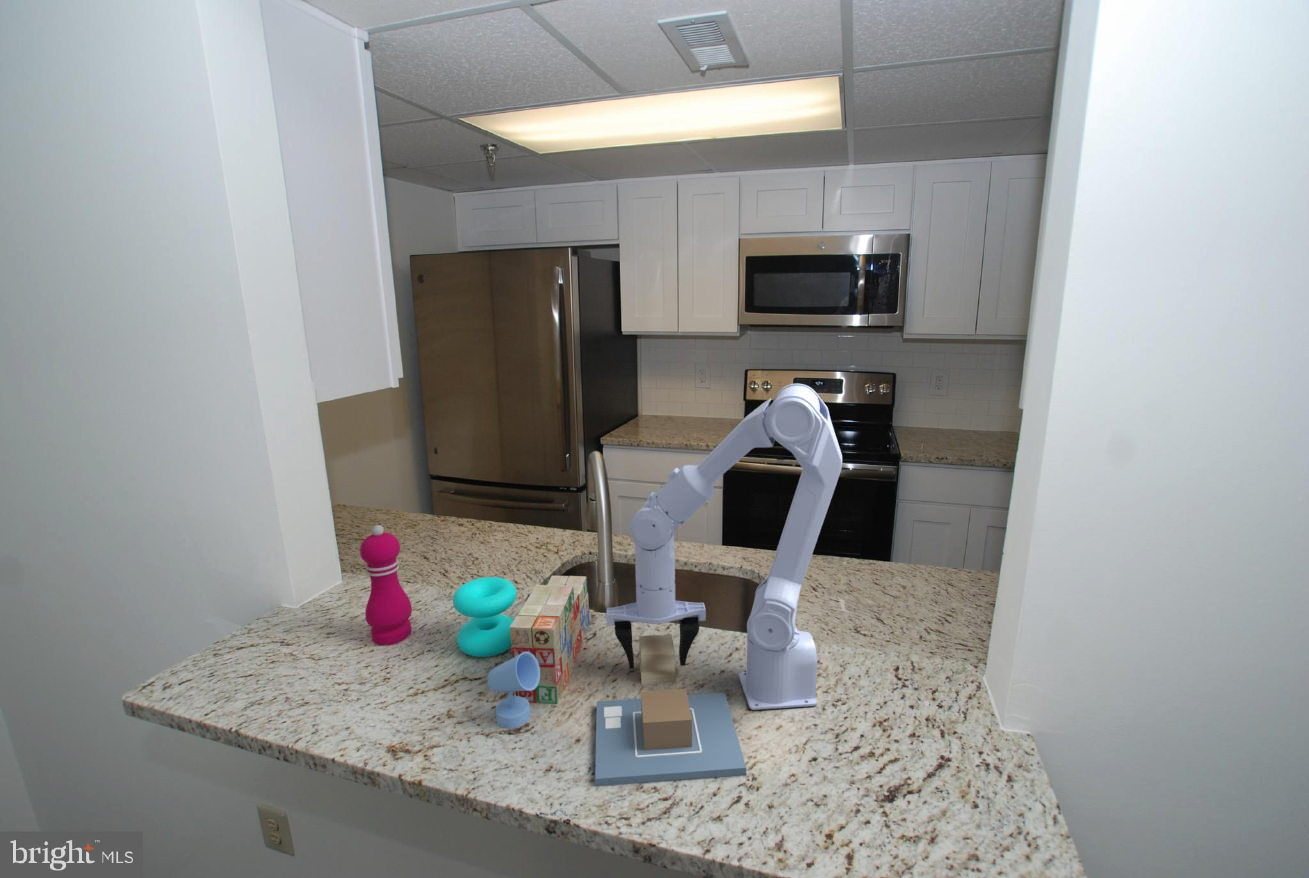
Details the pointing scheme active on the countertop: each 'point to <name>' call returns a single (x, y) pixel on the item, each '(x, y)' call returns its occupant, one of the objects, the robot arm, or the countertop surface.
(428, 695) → the countertop surface
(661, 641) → the maple block
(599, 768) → the blueprint board
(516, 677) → the spotlight
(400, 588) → the pepper mill
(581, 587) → the stack of blocks
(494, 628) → the donuts
